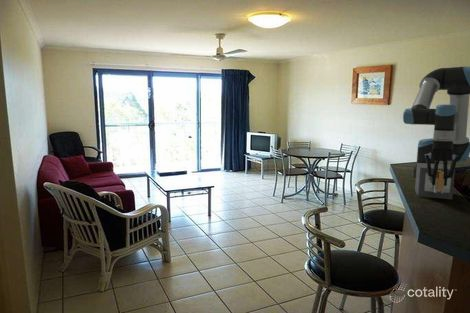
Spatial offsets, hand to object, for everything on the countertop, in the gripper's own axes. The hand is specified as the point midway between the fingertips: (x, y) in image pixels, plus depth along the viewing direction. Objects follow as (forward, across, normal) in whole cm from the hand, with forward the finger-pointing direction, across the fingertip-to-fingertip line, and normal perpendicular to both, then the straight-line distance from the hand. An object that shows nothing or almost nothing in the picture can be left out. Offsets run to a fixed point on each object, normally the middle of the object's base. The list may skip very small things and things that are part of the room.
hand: (438, 192), depth 151 cm
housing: (+4, 0, +14) cm, 15 cm away
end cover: (+1, 0, +7) cm, 7 cm away
